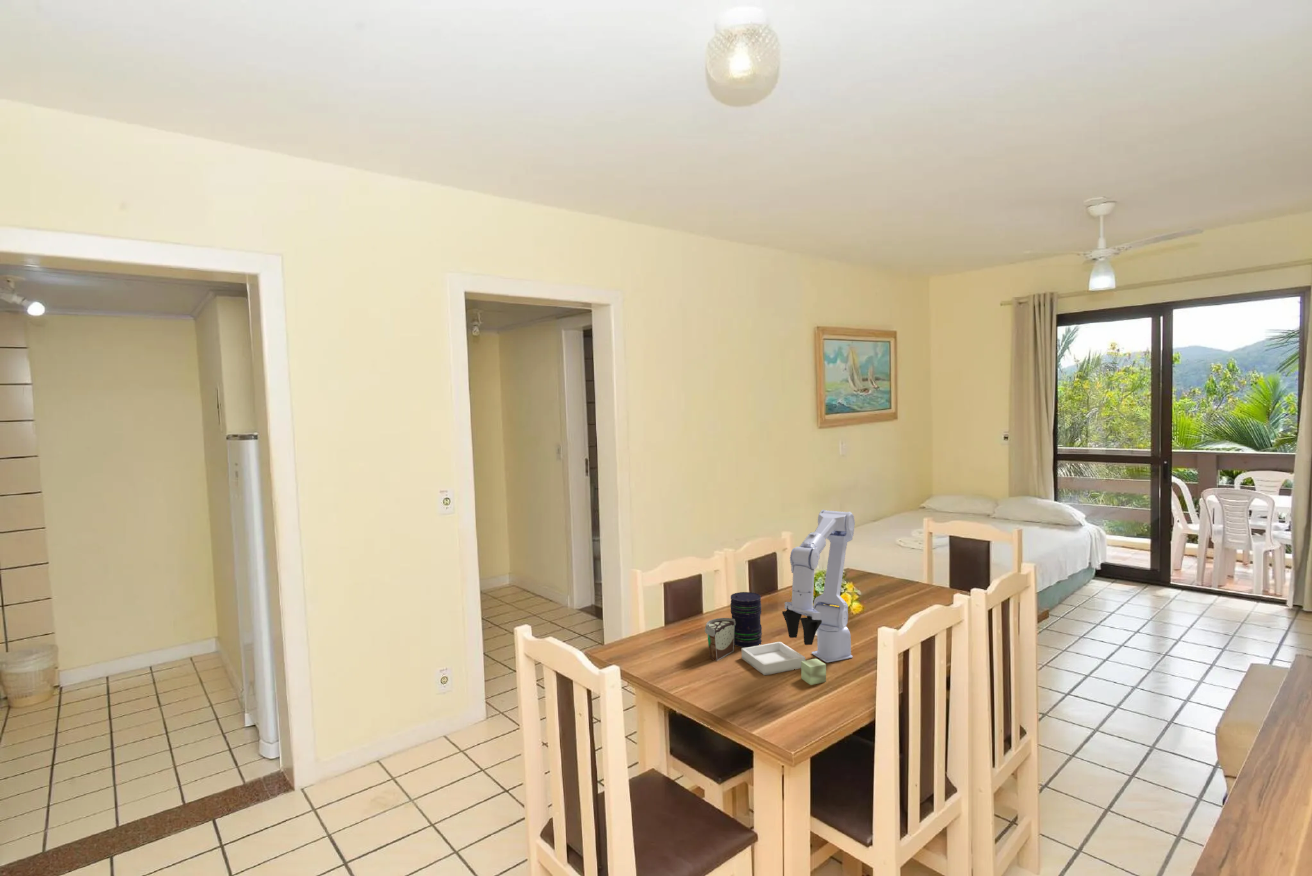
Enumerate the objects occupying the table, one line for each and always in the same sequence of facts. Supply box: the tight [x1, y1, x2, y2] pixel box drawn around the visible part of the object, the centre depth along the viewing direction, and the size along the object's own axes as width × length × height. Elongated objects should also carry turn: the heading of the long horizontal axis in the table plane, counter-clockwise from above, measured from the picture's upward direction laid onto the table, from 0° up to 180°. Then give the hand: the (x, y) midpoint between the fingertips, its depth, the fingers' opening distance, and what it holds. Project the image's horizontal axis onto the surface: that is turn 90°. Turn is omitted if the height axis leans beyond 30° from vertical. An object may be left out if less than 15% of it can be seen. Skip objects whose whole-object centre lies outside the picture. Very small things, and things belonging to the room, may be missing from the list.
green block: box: [800, 658, 827, 686], centre depth 180 cm, size 5×4×5 cm
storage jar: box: [730, 591, 763, 648], centre depth 209 cm, size 10×10×15 cm
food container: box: [704, 617, 736, 662], centre depth 200 cm, size 12×6×10 cm, turn 141°
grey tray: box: [741, 641, 806, 676], centre depth 193 cm, size 14×14×3 cm
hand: (800, 641), depth 178 cm, fingers open, 7 cm apart
